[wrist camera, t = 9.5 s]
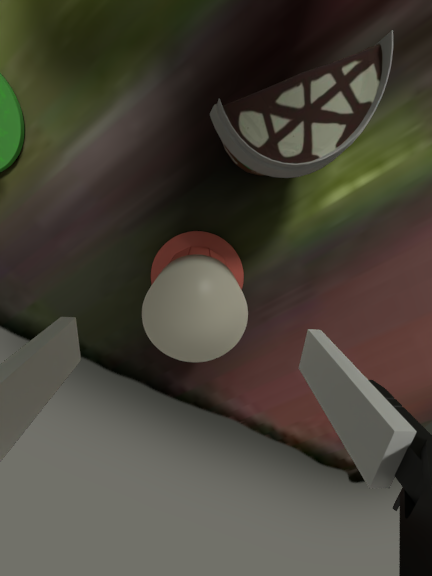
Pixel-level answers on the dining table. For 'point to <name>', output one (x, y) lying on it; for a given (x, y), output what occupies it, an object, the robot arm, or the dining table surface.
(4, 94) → the translucent plastic tub
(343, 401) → the robot arm
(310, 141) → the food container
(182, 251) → the red flanged cylinder
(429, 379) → the dining table surface
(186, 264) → the grey rounded piece
